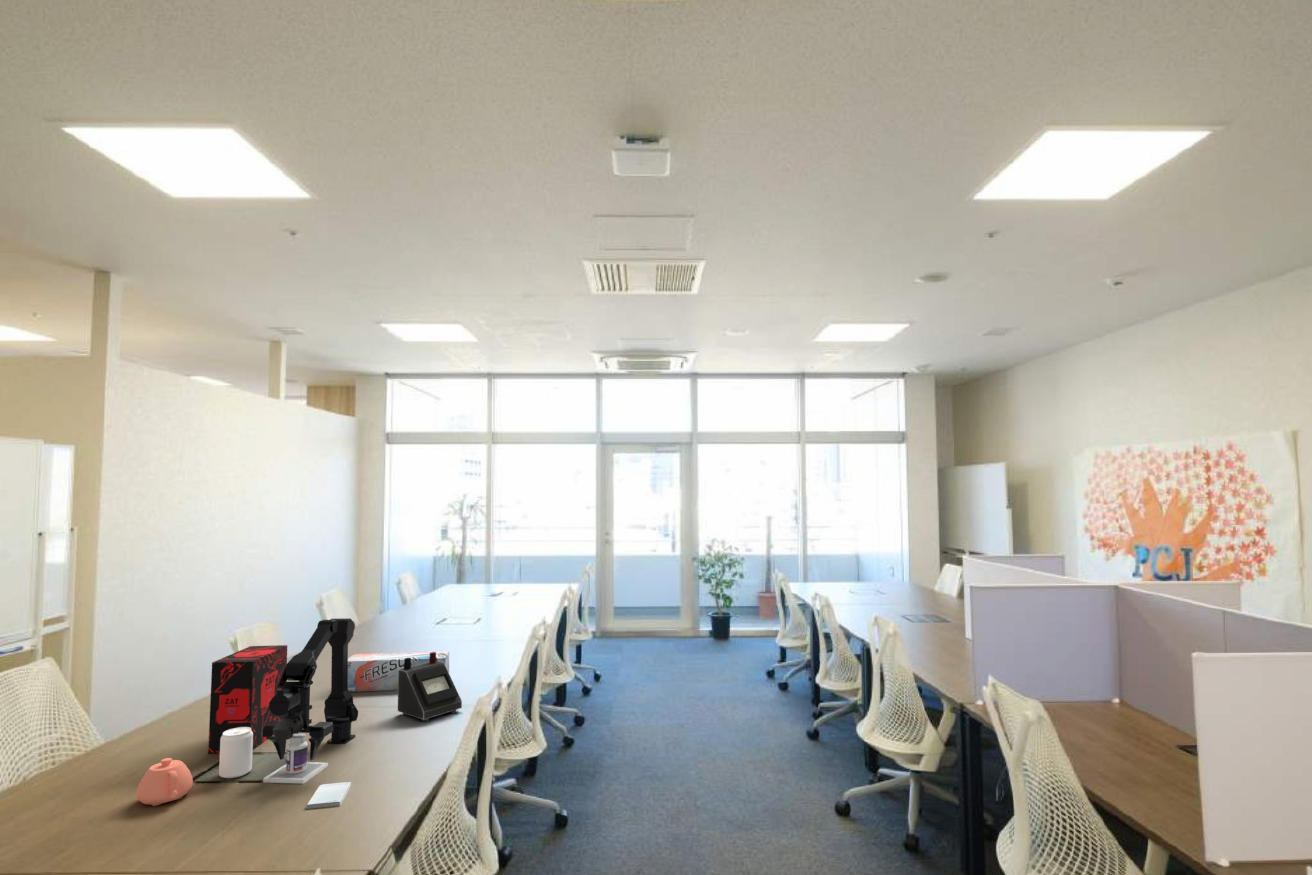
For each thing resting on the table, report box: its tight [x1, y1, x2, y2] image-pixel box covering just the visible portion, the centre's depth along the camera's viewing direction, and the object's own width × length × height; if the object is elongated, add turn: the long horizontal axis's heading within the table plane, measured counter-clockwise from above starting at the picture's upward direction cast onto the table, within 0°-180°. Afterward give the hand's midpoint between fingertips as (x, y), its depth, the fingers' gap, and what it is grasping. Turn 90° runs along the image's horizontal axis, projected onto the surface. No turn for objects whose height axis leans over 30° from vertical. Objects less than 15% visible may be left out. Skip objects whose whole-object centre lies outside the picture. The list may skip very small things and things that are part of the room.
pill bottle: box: [285, 733, 309, 774], centre depth 196 cm, size 5×5×10 cm
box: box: [207, 644, 288, 755], centre depth 225 cm, size 23×12×28 cm, turn 4°
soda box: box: [348, 650, 450, 693], centre depth 286 cm, size 41×14×13 cm, turn 99°
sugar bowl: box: [135, 757, 194, 807], centre depth 181 cm, size 12×14×10 cm
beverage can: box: [218, 727, 253, 779], centre depth 197 cm, size 8×8×12 cm
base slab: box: [262, 761, 329, 785], centre depth 196 cm, size 12×12×1 cm
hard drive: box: [305, 781, 352, 809], centre depth 181 cm, size 2×8×12 cm
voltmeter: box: [397, 651, 463, 723], centre depth 250 cm, size 16×16×20 cm
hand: (296, 759), depth 196 cm, fingers open, 9 cm apart
